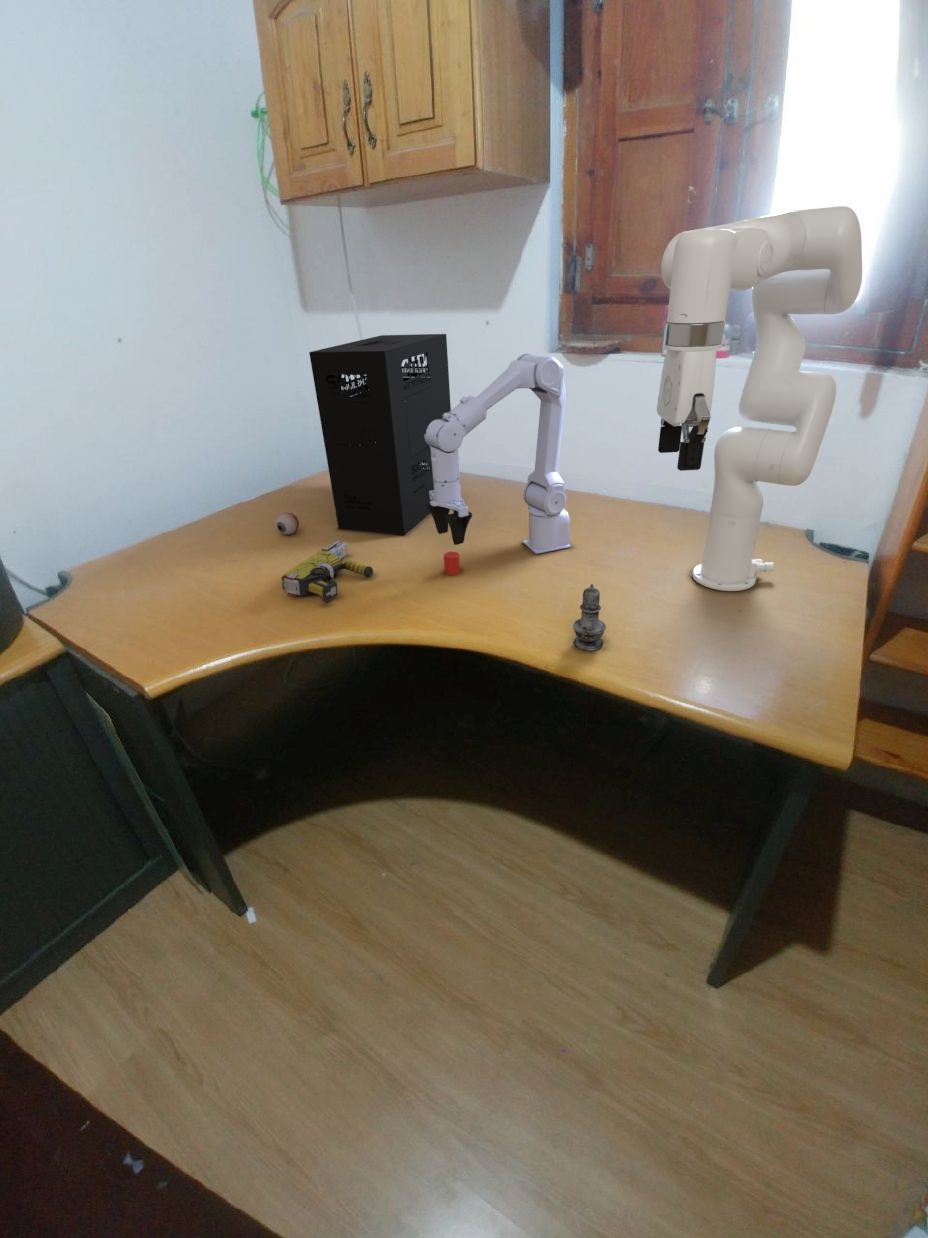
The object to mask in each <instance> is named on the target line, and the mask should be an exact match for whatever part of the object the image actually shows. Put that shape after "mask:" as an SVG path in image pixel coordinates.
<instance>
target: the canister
mask: <svg viewBox="0 0 928 1238" xmlns="http://www.w3.org/2000/svg"><path fill="white" fill-rule="evenodd" d="M443 564H444V573H445V574H446V575H447V576H455V575H456V576H457V575H459V574H460V573H461V567H460V553H459V552H457V551H447V552H445V553H443Z"/></svg>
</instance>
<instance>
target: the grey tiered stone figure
mask: <svg viewBox="0 0 928 1238" xmlns="http://www.w3.org/2000/svg"><path fill="white" fill-rule="evenodd" d="M600 597H601V592H600V590H599V589H597V588H595V586H594V584H593V583H591V584H590V585H589V587H587V588H585V589H584V590H583V592H582V603H581V604H580V605H579V608H580V610H581V614H580V615H581V616H580V618H578V619H576V620H574V621H573V623H572V629H573V630H574V633H575V635H576V637H575V638H574V639H573V645H574V646H575V647H576V648H578V649H580V650H582V651H591V652H592V651H597V650H599V649H601V648H602V647H603V646H604V640H603V639H602V637H603V636H604V633H605V631H606V630H607V625H606V623H605V622H604V621H602V620H601V619H600V618H599V617H600V611H601V609H602V607H601V605H600Z"/></svg>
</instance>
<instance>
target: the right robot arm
mask: <svg viewBox="0 0 928 1238" xmlns="http://www.w3.org/2000/svg"><path fill="white" fill-rule="evenodd" d="M862 243H863V241H862V230H861V225H860V221H859V217H858V216H857V214H856V212H855V210H854V209H852V207H849V206H845V205H843V206H831V207H823V208H822V207H820V208H819V207H818V208H810V209H809V208H808V209H800V210H799V209H797V210H788V211H783V212H779V213H774V214H769V215H762V216H758V217H753V218H748V219H747V218H746V219H742V220H737V221H734V222H729V223H725V224H720V225H714V226H708V227H703V228H696V229H692V230H686V231H681V232H679V233H677V234H676V235H675V236H674V237H673V238H672V239H670V241H669V243H668V244H667V245H666V248H665V250H664V252H663V254H662V259H661V265H660V272H661V278H662V281H663V284H664V285H665V286H666V288H667V289H668V290H669V297H668V309H667V317H666V325H665V326H666V327H665V337H664V343H663V345H664V346H663V349H664V350H666V352H665V354H664V355H665V357H664V360H663V366H662V370H661V375H660V376H661V377H660V382H659V383H660V384H659V389H658V397H657V402H656V403H657V404H656V413H657V415H658V416H659V417H660V418H661V419H660V429H659V436H658V447H657V451H658V452H659V454H668V453H669V454H670V453H678V458H677V465H676V468H677V470H678V471H684V472H685V471H699V470H700V469H701V468H702V461H703V454H704V449H705V448H704V447H705V443H706V440H707V433H708V432H709V423H710V421H711V415H712V414H711V410H712V405H713V404H712V403H713V396H714V388H715V378H716V366H717V350H719V349H721V348H722V347H723V341H724V340H723V339H724V332H725V325H726V319H727V312H728V306H729V299H730V292H740V291H741V292H742V291H747V290H750V289H751V295H752V296H751V300H752V311H753V319H754V324H755V331H756V345H755V350H754V353H753V356H752V360H751V363H750V365H749V369H748V371H747V372H748V373H747V376H746V379H745V382H744V385H743V388H742V391H741V395H740V398H739V402H738V412H739V415H740V417H741V418H742V419H744V420H746V421H749V422H754V423H759V424H768V425H777V426H778V425H779V426H788V427H794V428H795V429H796V430H795V431H789V430H780V429H779V430H778V429H773V428H764V427H763V428H762V427H753V426H737V427H736V426H735V427H732V428H729V429H727V430H725V431H724V432H722V433H721V434H720V435H719V437H718V439H717V441H716V443H715V446H714V451H713V452H714V453H713V454H714V455H713V465H714V467H713V468H714V477H713V478H714V481H713V491H712V497H711V498H712V499H711V505H710V509H709V516H708V523H707V529H706V535H705V536H706V537H705V541H704V547H703V554H702V560H701V563H699V564H698V565H695V566H694V567H693V569H692V578H693V580H694V581H695V582H697V583H698V584H700V585H701V586H704V587H706V588H709V589H711V590H717V591H722V592H723V591H724V592H740V591H745V590H748V589H750V588H752V587H754V585H756V582H757V575H756V574H758V573H759V572H763V573H765V572H774V570H775V564H774V562H772V561H769V562H764V561H763V559H762V558H755V559H754V558H753V557H754V552H755V546H756V542H757V537H758V531H759V528H760V521H761V517H762V513H763V507H764V497H763V492H762V490H761V488H760V486H759V484H758V482H760V483H766V484H767V483H768V484H773V485H781V486H790V487H791V486H800V485H802V484H804V483H805V482H806V481H807V480H808V478H809V477H810V476H811V475H810V474H811V472H812V471H813V469H814V465H815V463H816V460H817V458H818V454H819V452H820V448H821V445H822V442H823V439H824V436H825V433H826V430H827V427H828V424H829V422H830V418H831V416H832V413H833V410H834V406H835V403H836V397H837V384H836V381H835V379H834V377H833V376H831V375H830V374H828V373H825V372H819V371H807V370H806V371H804V370H803V371H802V370H800V369H801V366H802V362H803V359H804V356H805V353H806V349H807V343H806V339H805V337H804V335H803V332H802V330H801V329H800V327H799V326H798V324H797V323H796V321H795V320H794V318H793V317H792V315H837V314H841V313H844V312H845V311H846V312H847V310H849V309H850V308H851V307H852V306H853V305H854V303H855V302H856V300H857V298H858V295H859V294H860V291H861V288H862V287H861V286H862V280H863V254H862V253H863V248H862V247H863V244H862ZM690 428H691V429H690ZM681 439H682V441H681Z"/></svg>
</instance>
